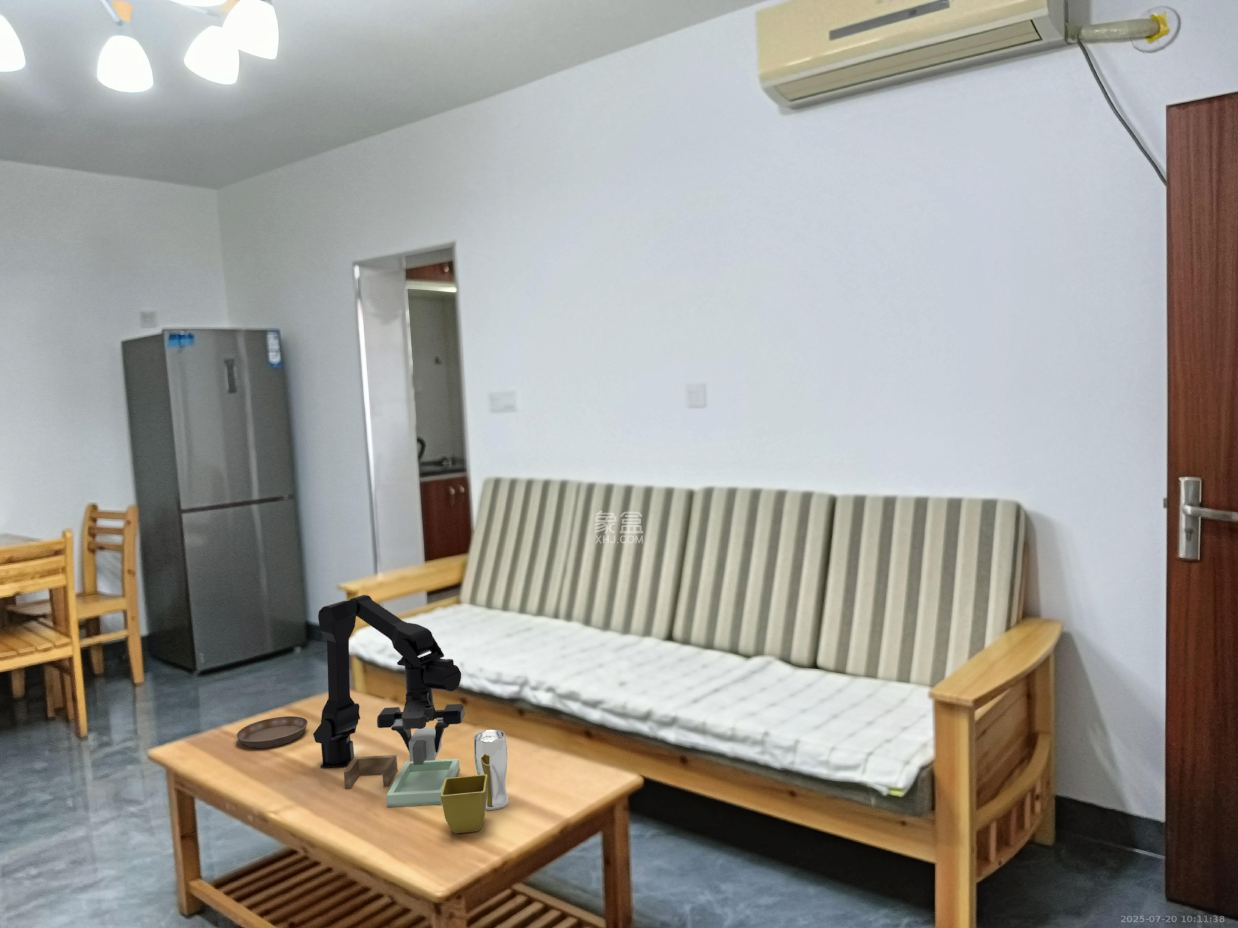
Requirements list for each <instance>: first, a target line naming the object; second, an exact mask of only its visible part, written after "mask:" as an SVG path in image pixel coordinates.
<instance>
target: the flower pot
mask: <svg viewBox="0 0 1238 928" xmlns="http://www.w3.org/2000/svg"><path fill="white" fill-rule="evenodd" d="M487 778H488V776H487V775H486V774H484V775H478V774H476V775H475V774H474V775H467V776H466V775H464V776H457V777H453V778H446V779H445V780H444V784H443V788H442V792H441V801H442V804H441V805H442V809H443V815H444V819H445V821H446V823H447V824H446V825H448V828H450V830H451V831H452V832H453V833H454V834H463V833H465V834H466V833H474V832H475V833H476V832H479V831H480V830H481V829H482V827H483V824H484V819H485V815H486V814H485V813H486V809H485V808H486V802H487Z"/></svg>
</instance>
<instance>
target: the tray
mask: <svg viewBox="0 0 1238 928" xmlns="http://www.w3.org/2000/svg"><path fill="white" fill-rule="evenodd" d="M460 769H461V768H460V759H459V758H446V759H443V758H442V759H435V760H431V761H424V763H423V765H414V764H413V761H412V762H410V760H409V761H408V760H407V761H405V762H404V764H403V765H402V768H401V769H400V771H399V773H397V774H398V775H397V776H396V778H395V780H394V782H393V784H392V785H391V786H390V788H389V790H388V792H387V794H386V806H387V808H394V807H411V806H413V807H417V806H432V805H442V801H441V792H442V788H443V784H444V780H445V779H446V778H453V777H458V774H459V771H460Z"/></svg>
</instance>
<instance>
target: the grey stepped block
mask: <svg viewBox="0 0 1238 928" xmlns="http://www.w3.org/2000/svg"><path fill="white" fill-rule="evenodd" d="M435 733H436V731H435V727H424V728H423V729H415V730H414V732H413V734H412V737H411V739H410V741H409V751H408V753H409V761H410V762H412V761H413V764H414V765H423V763H424V761H431V760H437V757H438V755H439V753H440V750H441V749H442V745H443V744H442V742H441V743H440V746H439V750H438V752H437V753H436V750H435Z"/></svg>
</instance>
